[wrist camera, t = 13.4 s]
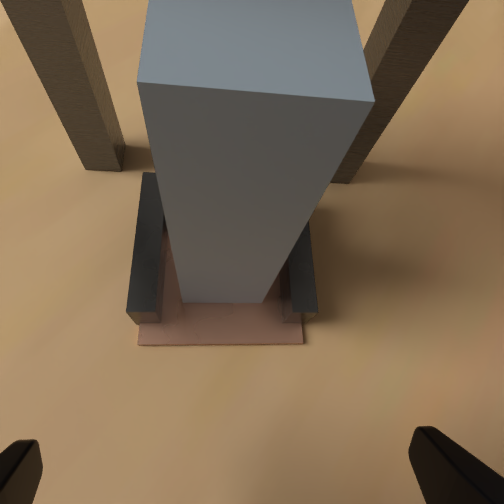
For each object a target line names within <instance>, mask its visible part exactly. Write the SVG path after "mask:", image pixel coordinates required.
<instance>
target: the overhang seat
mask: <svg viewBox="0 0 504 504" xmlns="http://www.w3.org/2000/svg"><path fill="white" fill-rule="evenodd" d="M0 1H1V3H2V5H3V7H4V9H5V11H6V13H7V15H8V17H9V19H10V21H11V23H12V25H13V27H14V29H15V31H16V33H17V35H18V37H19V39H20V41H21V43H22V45H23V47H24V49H25V50H26V52H27V54H28V56H29V58H30V60H31V62H32V64H33V66H34V68H35V70H36V72H37V74H38V76H39V78H40V80H41V82H42V84H43V86H44V88H45V90H46V92H47V94H48V96H49V98H50V100H51V102H52V104H53V106H54V108H55V110H56V112H57V114H58V116H59V118H60V120H61V122H62V124H63V126H64V128H65V130H66V132H67V134H68V136H69V138H70V140H71V142H72V144H73V146H74V148H75V150H76V152H77V154H78V156H79V158H80V160H81V162H82V164H83V166H84V168H85V169H86V170H105V171H121V170H122V163H123V156H124V150H125V142H124V138H123V135H122V132H121V128H120V125H119V122H118V119H117V115H116V112H115V109H114V105H113V102H112V99H111V95H110V92H109V89H108V85H107V82H106V79H105V75H104V72H103V69H102V66H101V62H100V59H99V56H98V52H97V49H96V46H95V42H94V39H93V36H92V32H91V29H90V26H89V22H88V19H87V16H86V12H85V9H84V6H83V3H82V0H0ZM468 1H469V0H386V1H385V3H384V5H383V7H382V10H381V12H380V14H379V16H378V19H377V21H376V23H375V25H374V28H373V30H372V32H371V34H370V36H369V39H368V41H367V43H366V45H365V48H364V50H363V52H364V56H365V61H366V65H367V69H368V73H369V78H370V82H371V86H372V91H373V95H374V99H375V103H374V105H373V107H372V108H371V110H370V112H369V114H368V115H367V117H366V119H365V121H364V123H363V124H362V126H361V128H360V130H359V131H358V133H357V135H356V137H355V139H354V140H353V142H352V144H351V146H350V147H349V149H348V151H347V153H346V154H345V156H344V158H343V160H342V162H341V163H340V165H339V167H338V169H337V170H336V172H335V174H334V176H333V177H332V179H331V181H330V182H331V183H350V181H351V180H352V178H353V177H354V175H355V174H356V172H357V171H358V169H359V168H360V166H361V165H362V163H363V162H364V160H365V159H366V157H367V155H368V154H369V152H370V151H371V149H372V148H373V146H374V145H375V143H376V142H377V140H378V139H379V137H380V136H381V134H382V133H383V131H384V130H385V128H386V126H387V125H388V123H389V122H390V120H391V119H392V117H393V116H394V114H395V113H396V111H397V110H398V108H399V107H400V105H401V104H402V102H403V101H404V99H405V97H406V96H407V94H408V93H409V91H410V90H411V88H412V87H413V85H414V84H415V82H416V81H417V79H418V78H419V76H420V75H421V73H422V72H423V70H424V68H425V67H426V65H427V64H428V62H429V61H430V59H431V58H432V56H433V55H434V53H435V52H436V50H437V49H438V47H439V46H440V44H441V42H442V41H443V39H444V38H445V36H446V35H447V33H448V32H449V30H450V29H451V27H452V26H453V24H454V23H455V21H456V20H457V18H458V17H459V15H460V13H461V12H462V10H463V9H464V7H465V6H466V4H467V3H468ZM126 313H127V314H128V315H129V316H130V317H131V319H132V320H133V321H134V322H135V323H136V325H139V335H138V344H137V345H139V346H140V345H258V344H303V335H302V324H305V323H306V322H307V321H309V320H310V319H311V318H312V317H314V316H315V315H316V314H317V313H318V306H317V297H316V287H315V278H314V269H313V259H312V250H311V241H310V231H309V222H307V224H306V225H305V227H304V229H303V231H302V232H301V234H300V236H299V238H298V240H297V241H296V243H295V245H294V247H293V248H292V250H291V252H290V254H289V255H288V257H287V259H286V261H285V263H284V264H283V266H282V268H281V270H280V271H279V273H278V275H277V277H276V278H275V280H274V282H273V284H272V286H271V287H270V289H269V291H268V293H267V294H266V296H265V298H264V300H263V302H262V303H183V302H182V297H181V292H180V287H179V283H178V278H177V273H176V268H175V263H174V259H173V254H172V249H171V244H170V239H169V235H168V230H167V225H166V220H165V215H164V210H163V206H162V201H161V196H160V191H159V186H158V182H157V177H156V173H150V172H143V176H142V184H141V193H140V201H139V209H138V217H137V226H136V234H135V242H134V250H133V259H132V267H131V275H130V283H129V291H128V300H127V308H126Z"/></svg>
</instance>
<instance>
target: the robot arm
mask: <svg viewBox="0 0 504 504" xmlns="http://www.w3.org/2000/svg"><path fill="white" fill-rule="evenodd" d="M408 453H409V459H410V462H411V465H412V468H413V470H414V473H415V475H416V478H417V481H418V483H419V486H420V489H421V491H422V494H423V497H424V499H425V502H426V504H504V478H503V477H502V476H500V475H499V474H498V473H496V472H495V471H494V470H492V469H491V468H490V467H488V466H487V465H485V464H484V463H483V462H481V461H480V460H479V459H477V458H476V457H475V456H473V455H472V454H471V453H469V452H468V451H466V450H465V449H464V448H462V447H461V446H460V445H458V444H457V443H456V442H454V441H453V440H451V439H450V438H449V437H447V436H446V435H445V434H443V433H442V432H441V431H439V430H438V429H436V428H435V427H432V426H419V427H417V428H416V429H415V431H414V434H413V437H412V440H411V443H410V446H409V452H408ZM42 471H43V464H42V458H41V453H40V448H39V443H38V441H37V440H34V439H30V440H17V441H15V442H13V443H12V444H11V445H10V446H8V447H7V448H6V449H5V450H4V451H3V452H1V453H0V504H32V503H33V500H34V497H35V494H36V491H37V488H38V485H39V482H40V479H41V476H42Z"/></svg>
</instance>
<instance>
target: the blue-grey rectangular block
mask: <svg viewBox="0 0 504 504" xmlns="http://www.w3.org/2000/svg"><path fill="white" fill-rule="evenodd" d="M137 85H138V90H139V95H140V100H141V105H142V110H143V114H144V119H145V124H146V129H147V134H148V138H149V143H150V148H151V153H152V158H153V162H154V167H155V172H156V177H157V182H158V186H159V191H160V196H161V201H162V206H163V210H164V215H165V220H166V225H167V230H168V235H169V239H170V244H171V249H172V254H173V259H174V263H175V268H176V273H177V278H178V283H179V287H180V292H181V297H182V302H183V303H262V302H263V300H264V298H265V296H266V294H267V293H268V291H269V289H270V287H271V286H272V284H273V282H274V280H275V278H276V277H277V275H278V273H279V271H280V270H281V268H282V266H283V264H284V263H285V261H286V259H287V257H288V255H289V254H290V252H291V250H292V248H293V247H294V245H295V243H296V241H297V240H298V238H299V236H300V234H301V232H302V231H303V229H304V227H305V225H306V224H307V222H308V220H309V218H310V216H311V215H312V213H313V211H314V209H315V208H316V206H317V204H318V202H319V201H320V199H321V197H322V195H323V193H324V192H325V190H326V188H327V186H328V185H329V183H330V181H331V179H332V177H333V176H334V174H335V172H336V170H337V169H338V167H339V165H340V163H341V162H342V160H343V158H344V156H345V154H346V153H347V151H348V149H349V147H350V146H351V144H352V142H353V140H354V139H355V137H356V135H357V133H358V131H359V130H360V128H361V126H362V124H363V123H364V121H365V119H366V117H367V115H368V114H369V112H370V110H371V108H372V107H373V105H374V103H375V99H374V95H373V91H372V86H371V82H370V78H369V73H368V69H367V65H366V61H365V56H364V52H363V48H362V44H361V39H360V35H359V31H358V26H357V22H356V18H355V14H354V9H353V5H352V1H351V0H149V2H148V9H147V16H146V22H145V29H144V36H143V43H142V49H141V56H140V63H139V70H138V77H137Z"/></svg>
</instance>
